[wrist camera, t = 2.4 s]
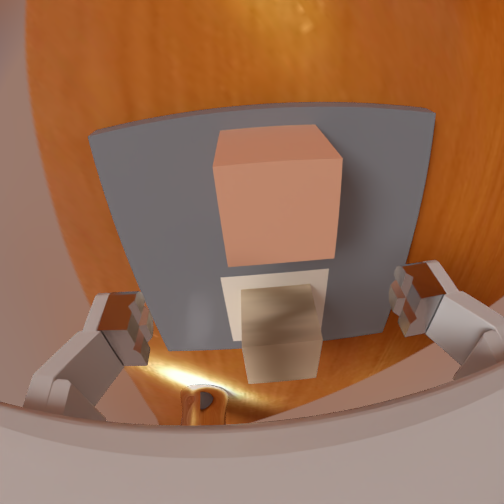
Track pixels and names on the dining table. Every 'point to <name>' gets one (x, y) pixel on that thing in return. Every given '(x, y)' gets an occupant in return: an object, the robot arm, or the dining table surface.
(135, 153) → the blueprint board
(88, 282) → the dining table surface
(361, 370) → the dining table surface
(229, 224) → the terracotta block
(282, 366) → the maple block
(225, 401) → the beer glass
